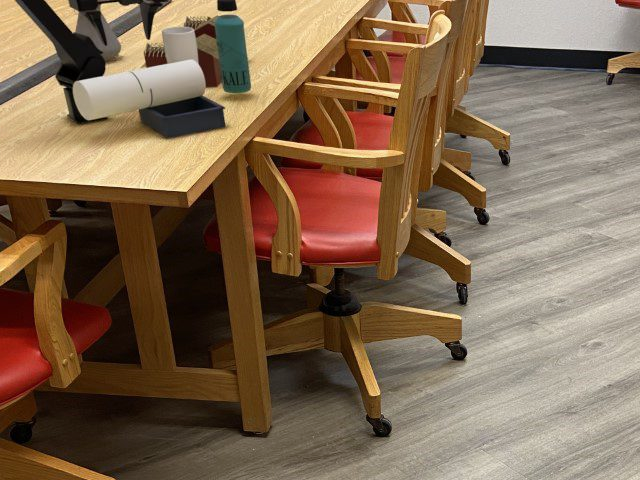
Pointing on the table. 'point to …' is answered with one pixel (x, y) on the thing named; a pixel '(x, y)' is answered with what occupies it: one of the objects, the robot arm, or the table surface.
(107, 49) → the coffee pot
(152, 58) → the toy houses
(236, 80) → the beverage bottle
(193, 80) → the cylindrical container
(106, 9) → the table surface
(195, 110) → the dark blue square tray
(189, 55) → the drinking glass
